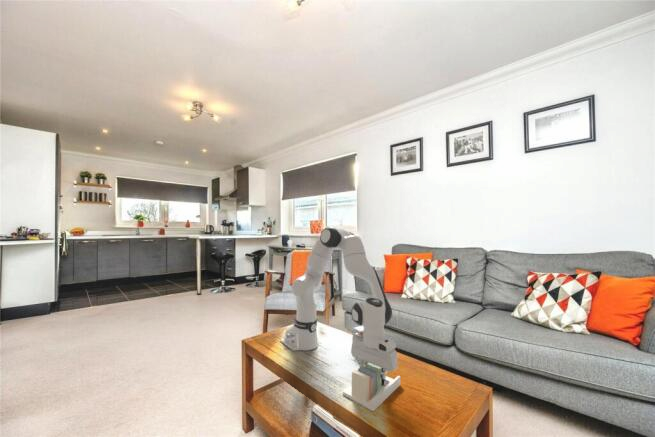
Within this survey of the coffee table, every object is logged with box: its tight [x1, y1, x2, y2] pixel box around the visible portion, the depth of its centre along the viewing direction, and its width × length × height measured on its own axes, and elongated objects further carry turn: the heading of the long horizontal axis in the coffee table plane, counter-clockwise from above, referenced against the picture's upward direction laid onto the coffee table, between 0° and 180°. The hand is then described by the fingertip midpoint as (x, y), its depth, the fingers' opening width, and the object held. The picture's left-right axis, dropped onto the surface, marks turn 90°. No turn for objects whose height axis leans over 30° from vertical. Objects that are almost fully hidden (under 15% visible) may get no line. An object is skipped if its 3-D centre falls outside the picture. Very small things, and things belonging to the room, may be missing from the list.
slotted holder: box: [342, 366, 401, 412], centre depth 109 cm, size 14×22×10 cm, turn 139°
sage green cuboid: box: [364, 362, 382, 392], centre depth 109 cm, size 6×4×8 cm, turn 50°
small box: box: [352, 325, 364, 336], centre depth 141 cm, size 8×6×13 cm
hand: (372, 373), depth 109 cm, fingers open, 8 cm apart
